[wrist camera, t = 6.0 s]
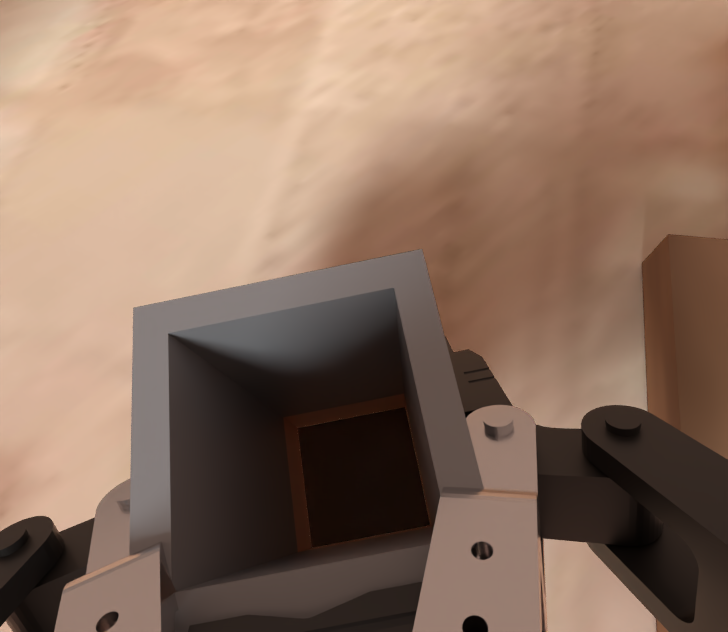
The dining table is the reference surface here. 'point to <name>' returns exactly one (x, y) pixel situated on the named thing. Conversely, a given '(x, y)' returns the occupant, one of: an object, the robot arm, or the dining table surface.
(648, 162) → the dining table surface
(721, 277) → the pin board
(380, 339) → the sleeve
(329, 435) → the dining table surface
